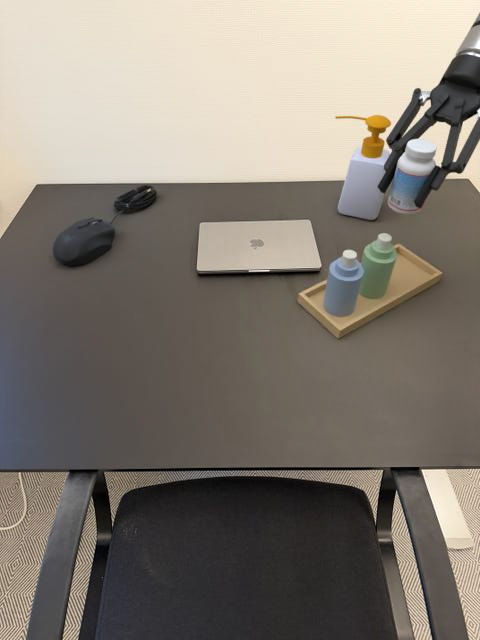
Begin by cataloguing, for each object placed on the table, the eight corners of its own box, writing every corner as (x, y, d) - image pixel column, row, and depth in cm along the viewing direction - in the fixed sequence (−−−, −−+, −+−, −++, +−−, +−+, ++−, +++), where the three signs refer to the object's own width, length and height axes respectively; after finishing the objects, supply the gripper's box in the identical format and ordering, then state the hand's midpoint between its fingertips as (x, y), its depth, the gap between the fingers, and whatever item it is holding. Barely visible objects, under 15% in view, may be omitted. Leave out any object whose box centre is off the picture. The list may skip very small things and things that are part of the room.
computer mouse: (46, 262, 99) (38, 241, 95) (134, 188, 119) (130, 168, 115) (82, 275, 96) (75, 254, 92) (166, 197, 116) (163, 177, 112)
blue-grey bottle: (358, 300, 90) (372, 249, 81) (348, 321, 87) (361, 269, 77) (329, 291, 92) (339, 239, 83) (318, 310, 88) (327, 258, 79)
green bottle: (389, 284, 93) (405, 232, 84) (381, 302, 90) (397, 251, 81) (360, 274, 95) (373, 223, 86) (351, 292, 92) (363, 241, 83)
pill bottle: (427, 214, 81) (448, 153, 73) (393, 216, 81) (410, 155, 72) (415, 195, 85) (433, 135, 77) (382, 197, 85) (397, 137, 77)
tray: (396, 251, 102) (398, 243, 100) (439, 281, 95) (442, 272, 94) (297, 301, 91) (298, 293, 89) (338, 339, 85) (340, 330, 83)
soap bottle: (327, 191, 118) (341, 101, 102) (382, 202, 115) (406, 110, 99) (317, 211, 112) (330, 118, 96) (375, 223, 109) (399, 129, 93)
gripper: (535, 94, 74) (454, 226, 78) (424, 65, 83) (356, 185, 86) (538, 67, 67) (450, 212, 71) (417, 39, 76) (344, 169, 80)
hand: (398, 197), depth 79 cm, fingers closed on pill bottle, 6 cm apart
